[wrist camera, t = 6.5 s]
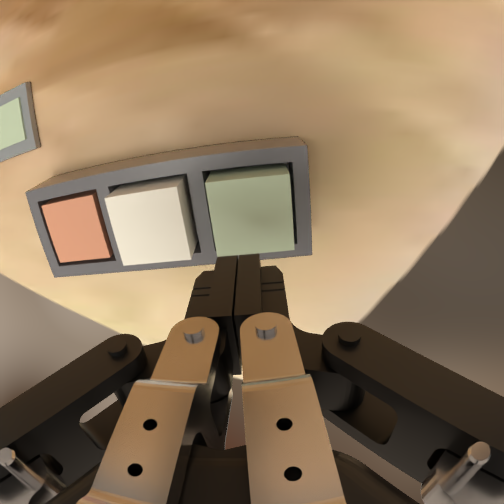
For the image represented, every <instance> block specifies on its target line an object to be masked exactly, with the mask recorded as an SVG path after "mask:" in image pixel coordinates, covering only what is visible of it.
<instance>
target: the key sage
mask: <svg viewBox="0 0 504 504" xmlns="http://www.w3.org/2000/svg"><path fill="white" fill-rule="evenodd" d="M205 186H206V193H207V199H208V205H209V211H210V217H211V223H212V229H213V235H214V241H215V246H216V252H217V257H220V256H232V255H244V254H256V253H268V252H279V251H290V250H295V249H294V231H293V214H292V199H291V185H290V174H289V171H288V169H287V167H286V165H285V164H273V165H263V166H252V167H243V168H234V169H225V170H217V171H211V172H210V174H209V176H208V178H207V180H206V182H205Z"/></svg>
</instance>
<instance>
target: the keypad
mask: <svg viewBox="0 0 504 504" xmlns="http://www.w3.org/2000/svg"><path fill="white" fill-rule="evenodd" d="M273 164H285V165H286V167H287V169H288V171H289V174H290V185H291V199H292V214H293V231H294V249H295V250H290V251H279V252H268V253H259V254H260V260H264V259H275V258H286V257H296V256H307V255H312V231H311V205H310V184H309V166H308V151H307V145H306V144H305V143H304V142H303V141H302V140H301V139H300V138H299V137H284V138H272V139H261V140H251V141H242V142H233V143H224V144H217V145H209V146H202V147H195V148H188V149H182V150H175V151H169V152H163V153H158V154H152V155H147V156H141V157H136V158H131V159H126V160H121V161H116V162H112V163H107V164H103V165H98V166H94V167H89V168H85V169H81V170H77V171H73V172H69V173H65V174H61V175H57V176H54V177H51V178H50V179H48V180H46V181H44V182H42V183H41V184H39V185H37V186H35V187H34V188H32V189H30V190H28V191H27V192H26V196H27V200H28V203H29V206H30V210H31V213H32V216H33V219H34V223H35V226H36V229H37V232H38V235H39V238H40V240H41V243H42V246H43V249H44V252H45V254H46V257H47V260H48V262H49V265H50V267H51V270H52V273H53V275H54V277H66V276H79V275H91V274H103V273H115V272H127V271H139V270H151V269H163V268H174V267H186V266H197V265H209V264H216V260H217V252H216V246H215V241H214V235H213V229H212V223H211V217H210V211H209V205H208V199H207V193H206V186H205V182H206V180H207V178H208V176H209V174H210V172H211V171H217V170H225V169H234V168H243V167H252V166H263V165H273ZM179 175H186V176H187V182H188V188H189V193H190V199H191V205H192V210H193V216H194V221H195V226H196V231H197V237H198V242H197V245H196V248H195V250H194V253H193V256H192V259H191V260H181V261H170V262H159V263H148V264H137V265H126V266H123V262H122V259H121V256H120V253H119V249H118V246H117V243H116V239H115V236H114V232H113V229H112V225H111V222H110V218H109V214H108V210H107V207H106V203H105V199H104V198H105V197H107V196H108V195H109V194H110V193H112V192H113V191H114V190H115V189H117V188H118V187H119V186H120V185H124V184H130V183H135V182H141V181H147V180H153V179H160V178H166V177H173V176H179ZM93 189H96V191H97V195H98V199H99V203H100V207H101V210H102V214H103V218H104V221H105V225H106V229H107V232H108V235H109V239H110V242H111V246H112V249H113V252H114V253H113V254H112V256H111V257H110V258H100V259H91V260H81V261H71V262H62V263H60V261H59V258H58V255H57V252H56V250H55V247H54V244H53V241H52V238H51V235H50V232H49V229H48V226H47V223H46V220H45V216H44V213H43V210H42V205H43V204H45V203H46V202H48V201H49V200H51V199H52V198H56V197H60V196H65V195H69V194H74V193H78V192H83V191H88V190H93ZM238 258H239V255H238Z"/></svg>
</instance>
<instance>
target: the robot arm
mask: <svg viewBox="0 0 504 504" xmlns="http://www.w3.org/2000/svg"><path fill="white" fill-rule="evenodd" d="M242 369H243V383H242V395H243V407H244V408H243V409H244V423H245V436H246V445H244V446H240V447H236V448H231V449H227V450H225V440H226V433H227V427H228V421H229V415H230V408H231V402H232V389H231V387H232V380H233V375H241V371H242ZM112 393H115V395H116V397H117V398H118V400H117V401H116V402H114V403H113V404H112V405H110V406H109V407H108V408H106V409H105V410H103V411H102V412H100V413H99V414H98V415H96V416H95V417H93V418H92V419H90V420H89V421H87V422H85V423H79V421H80V418H81V416H82V415H83V414H84V413H85V412H86V411H88V410H89V409H91V408H92V407H94V406H95V405H96V404H98V403H99V402H101V401H102V400H104V399H105V398H106V397H108V396H109V395H111V394H112ZM323 416H324V417H325V418H326V419H327V420H329V421H330V422H332V423H333V424H334V425H336V426H337V427H338V428H340V429H341V430H343V431H344V432H345V433H347V434H348V435H350V436H351V437H352V438H354V439H355V440H357V441H358V442H360V443H361V444H362V445H364V446H365V447H367V448H368V449H370V450H371V451H373V452H374V453H376V454H377V455H378V456H380V457H382V458H383V459H385V460H386V461H388V462H389V463H391V464H392V465H394V466H395V467H397V468H399V469H400V470H401V471H403V472H405V473H406V474H408V475H409V476H411V477H412V478H414V479H416V480H417V481H419V482H421V483H422V485H421V496H422V499H423V501H424V503H425V504H504V397H502V396H500V395H498V394H496V393H494V392H493V391H491V390H488V389H486V388H484V387H482V386H481V385H479V384H477V383H475V382H473V381H471V380H469V379H467V378H465V377H463V376H461V375H459V374H457V373H455V372H453V371H451V370H449V369H447V368H445V367H444V366H442V365H440V364H438V363H436V362H434V361H432V360H430V359H428V358H426V357H424V356H422V355H420V354H418V353H416V352H414V351H413V350H411V349H409V348H407V347H405V346H403V345H401V344H399V343H397V342H395V341H393V340H391V339H390V338H388V337H386V336H384V335H382V334H380V333H378V332H376V331H374V330H372V329H370V328H369V327H367V326H365V325H362V324H360V323H355V322H341V323H337V324H334V325H332V326H330V327H329V328H328V329H327V330H326V331H325V332H324V334H323V335H320V334H312V333H308V332H304V331H302V330H300V329H298V328H296V327H295V326H294V325H293V324H292V323H291V321H290V318H289V313H288V306H287V299H286V293H285V286H284V280H283V273H282V272H281V271H280V270H279V269H278V268H277V267H276V266H265V267H261V264H260V254H259V253H256V254H244V255H239V258H238V255H232V256H220V257H217V260H216V264H215V269H214V271H203V272H202V273H201V274H200V275H199V276H198V277H197V278H196V280H195V283H194V287H193V290H192V294H191V297H190V301H189V305H188V308H187V312H186V315H185V319H184V320H182V321H180V322H178V323H177V324H176V325H175V326H173V328H172V329H171V331H170V333H169V335H168V338H167V340H165V341H162V342H158V343H154V344H150V345H146V346H142V343H141V341H140V339H139V338H138V337H136V336H134V335H130V334H120V335H116V336H113V337H110V338H108V339H107V340H105V341H104V342H102V343H101V344H99V345H97V346H96V347H94V348H93V349H91V350H89V351H88V352H86V353H85V354H83V355H82V356H80V357H79V358H77V359H75V360H74V361H72V362H71V363H69V364H68V365H66V366H65V367H63V368H61V369H60V370H58V371H57V372H55V373H54V374H52V375H51V376H49V377H47V378H46V379H44V380H43V381H41V382H40V383H38V384H37V385H35V386H34V387H32V388H30V389H29V390H27V391H26V392H24V393H23V394H21V395H19V396H18V397H16V398H15V399H13V400H12V401H10V402H9V403H7V404H6V405H4V406H2V407H1V408H0V504H419V503H417V502H416V501H415V500H413V499H412V498H410V497H409V496H407V495H406V494H404V493H403V492H402V491H400V490H399V489H397V488H396V487H395V486H393V485H392V484H390V483H389V482H388V481H386V480H385V479H383V478H382V477H381V476H379V475H378V474H377V473H375V472H374V471H373V470H371V469H370V468H369V467H367V466H366V465H364V464H363V463H362V462H360V461H359V460H357V459H355V458H353V457H351V456H349V455H346V454H344V453H342V452H338V451H335V450H332V448H331V445H330V441H329V438H328V434H327V430H326V426H325V423H324V419H323Z"/></svg>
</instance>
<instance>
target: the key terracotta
mask: <svg viewBox="0 0 504 504" xmlns="http://www.w3.org/2000/svg"><path fill="white" fill-rule="evenodd" d="M42 210H43V213H44V216H45V220H46V223H47V226H48V229H49V232H50V235H51V238H52V241H53V244H54V247H55V250H56V252H57V255H58V258H59V261H60V263H62V262H71V261H81V260H91V259H100V258H110V257H111V256H112V254H113V253H114V252H113V249H112V246H111V242H110V239H109V235H108V232H107V229H106V225H105V221H104V218H103V214H102V210H101V207H100V203H99V199H98V195H97V191H96V189H93V190H88V191H83V192H78V193H74V194H69V195H65V196H60V197H56V198H52V199H51V200H49V201H48V202H46V203H45V204H43V205H42Z"/></svg>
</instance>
